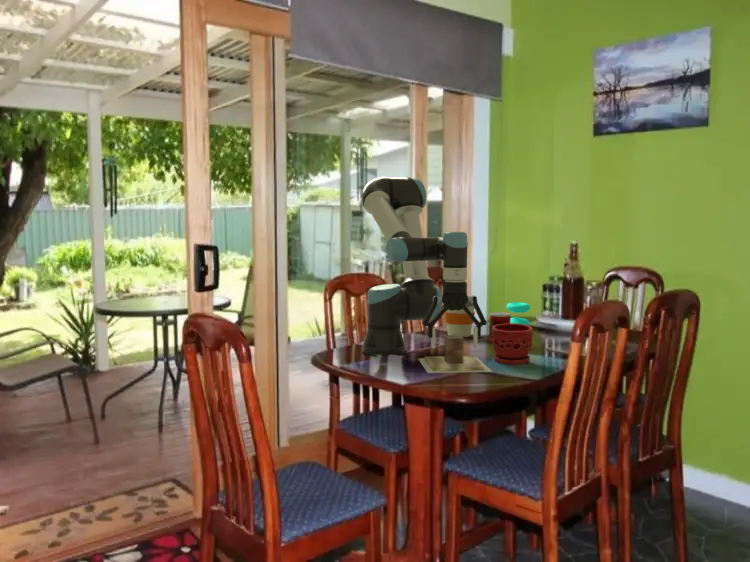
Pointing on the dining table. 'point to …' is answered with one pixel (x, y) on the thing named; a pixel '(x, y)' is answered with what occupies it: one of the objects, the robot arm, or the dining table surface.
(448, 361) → the lid
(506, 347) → the plant pot
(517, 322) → the donuts
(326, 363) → the dining table surface
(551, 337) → the dining table surface
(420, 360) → the mat
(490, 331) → the canned food
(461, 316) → the reusable coffee cup
